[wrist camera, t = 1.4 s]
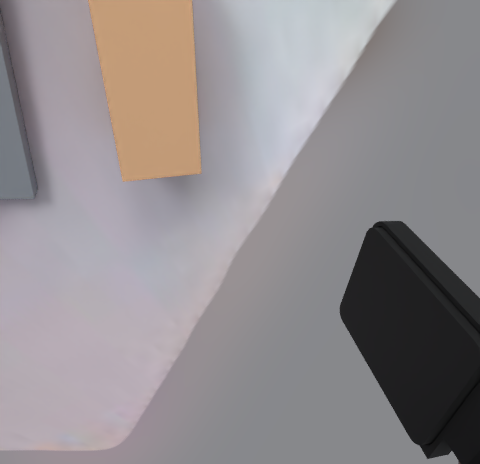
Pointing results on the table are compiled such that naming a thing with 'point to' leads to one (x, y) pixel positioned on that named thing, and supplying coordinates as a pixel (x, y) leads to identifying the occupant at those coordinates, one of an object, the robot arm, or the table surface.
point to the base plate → (13, 134)
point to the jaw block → (150, 84)
